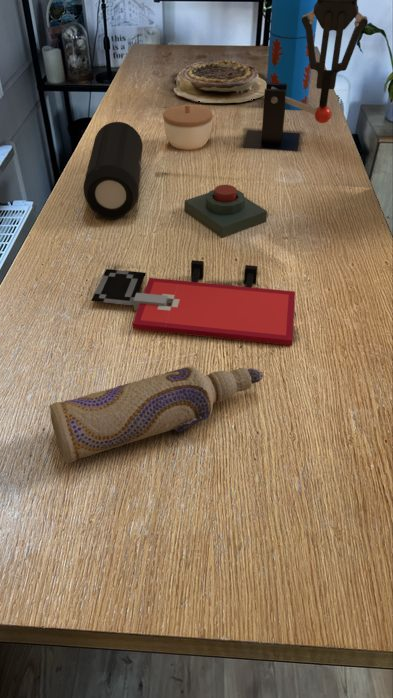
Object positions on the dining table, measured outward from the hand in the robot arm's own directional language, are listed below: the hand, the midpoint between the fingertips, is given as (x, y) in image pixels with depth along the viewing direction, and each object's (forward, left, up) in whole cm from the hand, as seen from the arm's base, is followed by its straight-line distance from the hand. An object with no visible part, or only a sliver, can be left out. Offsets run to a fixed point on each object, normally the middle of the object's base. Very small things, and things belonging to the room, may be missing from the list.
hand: (323, 104), depth 125 cm
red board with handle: (-32, +55, -10) cm, 65 cm away
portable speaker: (+7, +47, -10) cm, 48 cm away
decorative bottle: (-50, +72, -10) cm, 88 cm away
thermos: (+25, -13, -10) cm, 30 cm away
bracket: (+7, +7, -10) cm, 14 cm away
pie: (+46, -7, -10) cm, 48 cm away
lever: (+4, +4, -2) cm, 6 cm away
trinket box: (+17, +23, -10) cm, 31 cm away
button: (-13, +35, -6) cm, 38 cm away
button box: (-13, +35, -10) cm, 39 cm away
